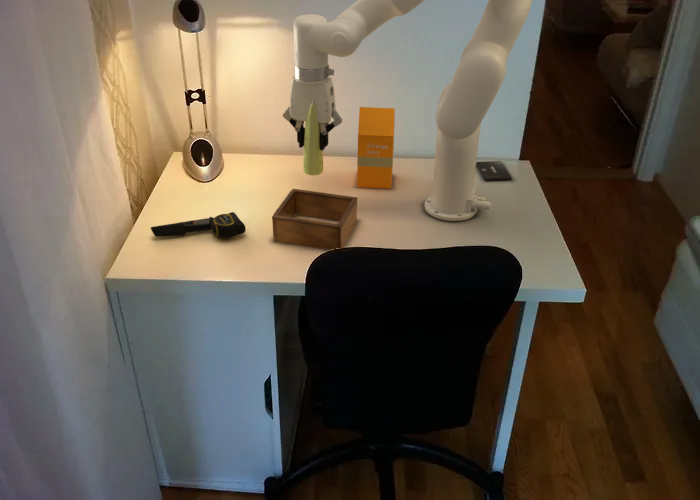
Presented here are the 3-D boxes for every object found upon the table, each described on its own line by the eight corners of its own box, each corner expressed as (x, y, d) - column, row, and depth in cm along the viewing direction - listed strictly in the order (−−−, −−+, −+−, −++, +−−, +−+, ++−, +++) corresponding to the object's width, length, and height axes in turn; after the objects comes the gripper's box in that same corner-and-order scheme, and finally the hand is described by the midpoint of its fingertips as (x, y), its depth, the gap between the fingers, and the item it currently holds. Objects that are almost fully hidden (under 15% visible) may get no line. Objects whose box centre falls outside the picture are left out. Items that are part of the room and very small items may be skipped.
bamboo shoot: (329, 172, 170) (329, 96, 160) (313, 178, 167) (312, 101, 157) (314, 165, 174) (312, 89, 163) (298, 171, 171) (296, 94, 160)
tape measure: (247, 237, 156) (246, 222, 154) (217, 244, 153) (216, 229, 151) (237, 223, 161) (235, 209, 159) (208, 230, 158) (206, 215, 156)
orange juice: (359, 173, 183) (360, 101, 173) (392, 175, 183) (395, 102, 172) (356, 187, 177) (357, 112, 166) (391, 189, 176) (394, 114, 165)
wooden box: (357, 221, 162) (357, 197, 159) (341, 252, 151) (341, 227, 148) (293, 212, 166) (292, 188, 162) (272, 241, 155) (271, 216, 151)
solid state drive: (485, 180, 180) (485, 178, 180) (475, 164, 189) (476, 161, 188) (511, 179, 181) (512, 177, 180) (500, 163, 189) (501, 160, 189)
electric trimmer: (152, 234, 157) (149, 222, 155) (220, 224, 161) (219, 212, 159) (153, 243, 154) (150, 231, 152) (223, 232, 158) (221, 220, 156)
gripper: (351, 71, 158) (350, 144, 168) (281, 63, 162) (285, 136, 172) (342, 81, 152) (342, 157, 162) (270, 74, 156) (274, 148, 166)
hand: (312, 146), depth 167 cm, fingers closed on bamboo shoot, 4 cm apart
